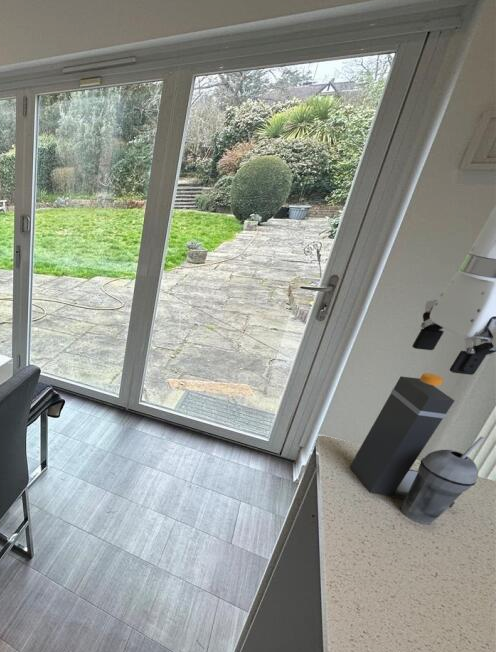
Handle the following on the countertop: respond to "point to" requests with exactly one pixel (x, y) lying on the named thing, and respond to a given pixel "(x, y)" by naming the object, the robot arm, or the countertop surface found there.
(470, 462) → the beverage cup
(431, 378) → the brew button
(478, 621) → the countertop surface
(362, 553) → the countertop surface
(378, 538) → the countertop surface
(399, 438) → the espresso machine
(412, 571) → the countertop surface
